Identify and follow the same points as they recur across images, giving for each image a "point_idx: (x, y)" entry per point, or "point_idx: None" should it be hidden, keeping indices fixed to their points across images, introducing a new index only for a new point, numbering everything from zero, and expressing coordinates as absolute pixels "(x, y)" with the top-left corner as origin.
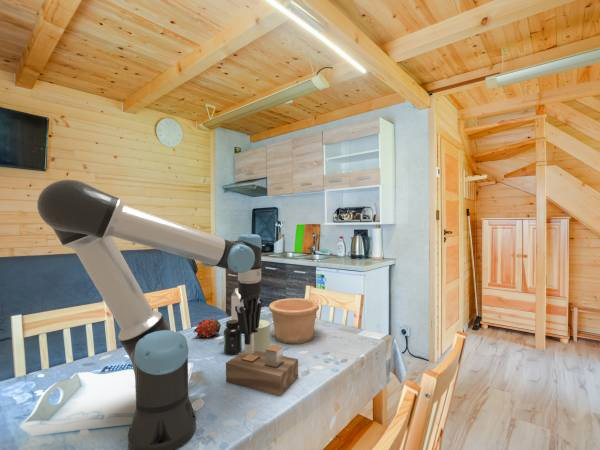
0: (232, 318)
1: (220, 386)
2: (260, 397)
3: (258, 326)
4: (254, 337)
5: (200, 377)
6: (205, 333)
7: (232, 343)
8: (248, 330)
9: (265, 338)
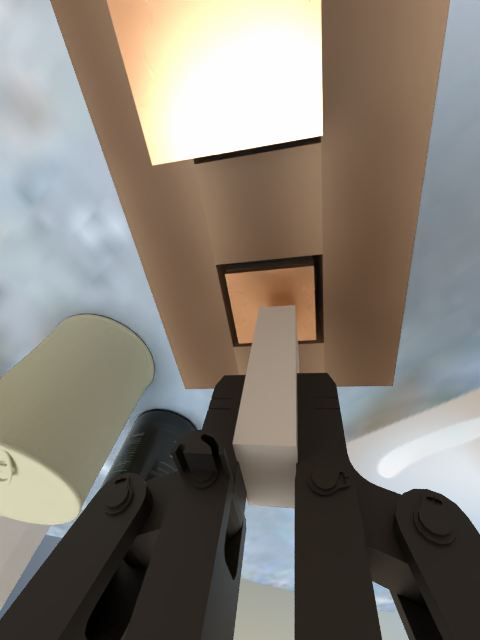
0: (41, 536)
1: (416, 317)
2: (462, 33)
3: (107, 496)
4: (211, 400)
5: (379, 413)
6: None
7: (172, 461)
8: (362, 541)
9: (41, 377)
